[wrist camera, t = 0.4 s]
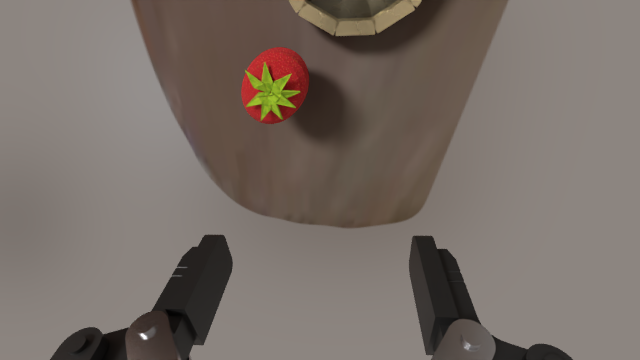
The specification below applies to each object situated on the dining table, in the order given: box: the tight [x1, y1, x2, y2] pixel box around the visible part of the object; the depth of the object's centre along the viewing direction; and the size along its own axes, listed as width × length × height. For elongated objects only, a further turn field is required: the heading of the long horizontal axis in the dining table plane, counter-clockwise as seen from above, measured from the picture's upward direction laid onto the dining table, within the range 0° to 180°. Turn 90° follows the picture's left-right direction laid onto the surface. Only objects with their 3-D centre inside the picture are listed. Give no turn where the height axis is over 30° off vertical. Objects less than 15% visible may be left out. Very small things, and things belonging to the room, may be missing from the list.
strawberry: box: [241, 47, 309, 124], centre depth 30 cm, size 6×8×10 cm
